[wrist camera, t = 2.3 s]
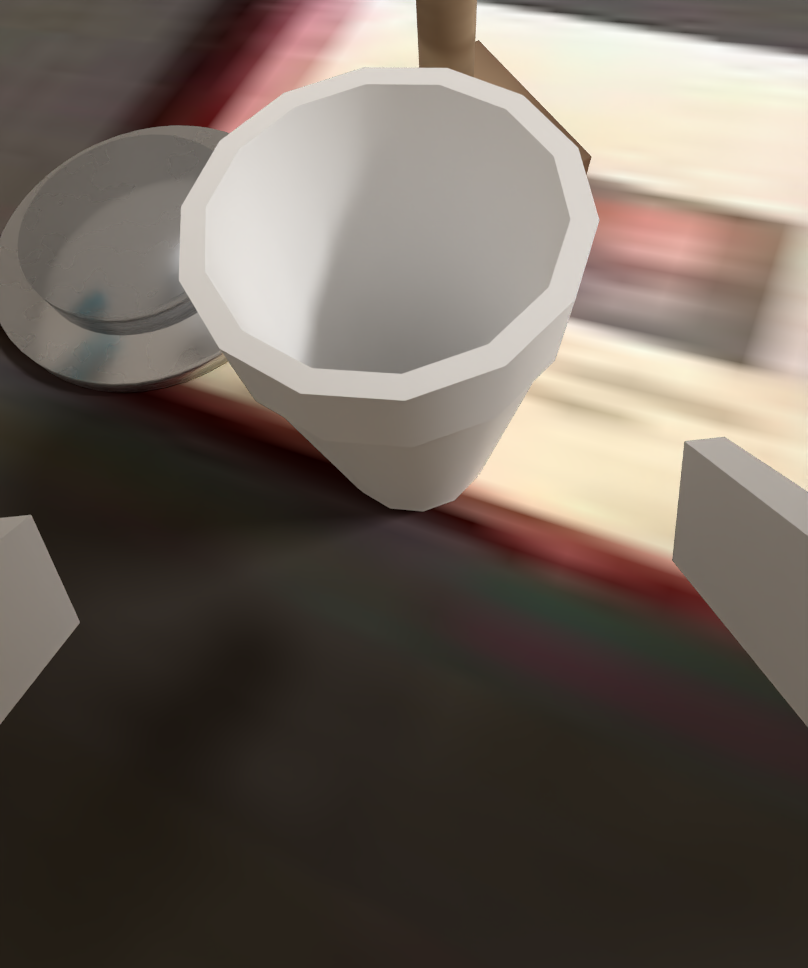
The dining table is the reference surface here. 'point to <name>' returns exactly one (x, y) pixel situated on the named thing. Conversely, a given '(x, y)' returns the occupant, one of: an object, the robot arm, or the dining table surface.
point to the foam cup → (391, 268)
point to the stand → (467, 51)
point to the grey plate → (109, 265)
